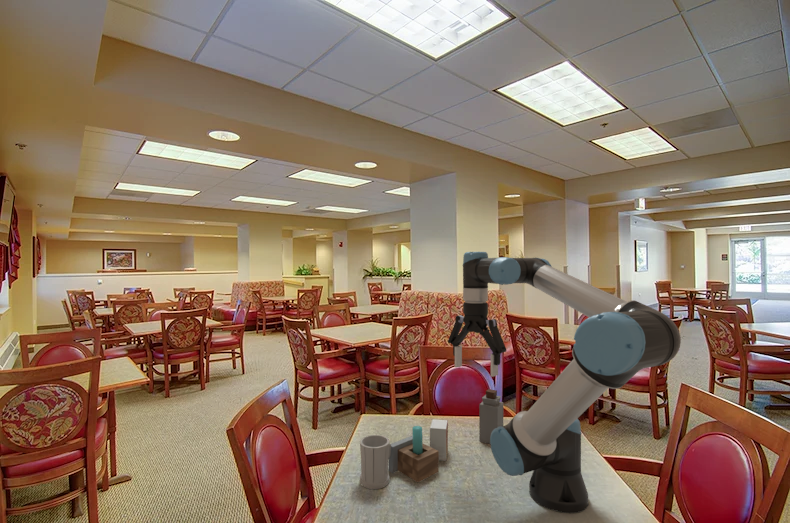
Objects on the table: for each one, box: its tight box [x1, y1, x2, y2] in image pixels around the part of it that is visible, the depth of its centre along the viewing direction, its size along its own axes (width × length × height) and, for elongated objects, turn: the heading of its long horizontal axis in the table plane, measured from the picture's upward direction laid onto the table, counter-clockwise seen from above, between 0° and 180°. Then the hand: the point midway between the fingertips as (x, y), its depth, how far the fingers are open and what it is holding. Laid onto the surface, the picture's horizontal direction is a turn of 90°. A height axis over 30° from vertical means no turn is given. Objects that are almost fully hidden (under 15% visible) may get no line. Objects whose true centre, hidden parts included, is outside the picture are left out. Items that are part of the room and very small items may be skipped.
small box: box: [429, 419, 449, 462], centre depth 133 cm, size 8×6×10 cm
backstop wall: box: [388, 434, 413, 474], centre depth 126 cm, size 2×13×8 cm, turn 131°
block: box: [397, 442, 440, 483], centre depth 122 cm, size 9×9×6 cm
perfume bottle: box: [478, 388, 504, 445], centre depth 144 cm, size 7×7×18 cm
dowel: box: [412, 425, 423, 455], centre depth 122 cm, size 3×3×12 cm
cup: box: [359, 434, 391, 490], centre depth 117 cm, size 10×9×12 cm
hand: (475, 371), depth 120 cm, fingers open, 13 cm apart
